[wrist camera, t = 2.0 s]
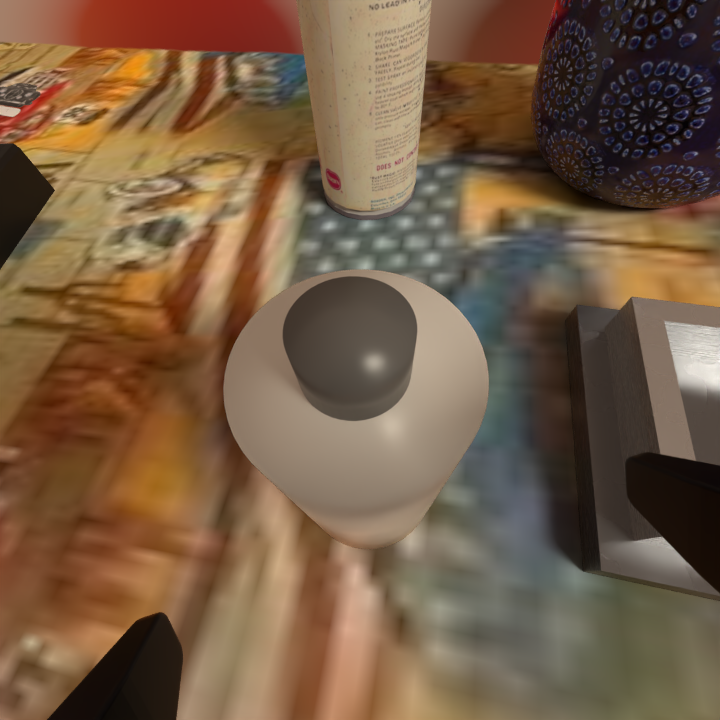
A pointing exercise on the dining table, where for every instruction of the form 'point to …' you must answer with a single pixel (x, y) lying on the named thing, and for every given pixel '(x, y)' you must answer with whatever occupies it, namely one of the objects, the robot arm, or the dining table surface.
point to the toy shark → (16, 97)
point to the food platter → (18, 197)
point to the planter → (632, 100)
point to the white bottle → (357, 399)
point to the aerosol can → (366, 99)
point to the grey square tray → (640, 425)
